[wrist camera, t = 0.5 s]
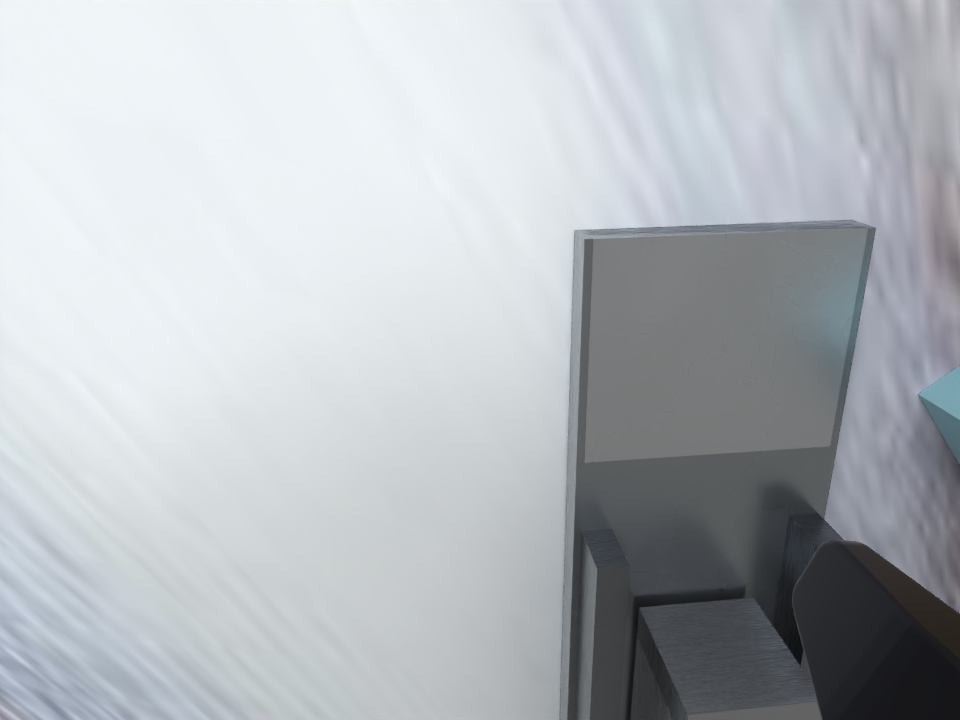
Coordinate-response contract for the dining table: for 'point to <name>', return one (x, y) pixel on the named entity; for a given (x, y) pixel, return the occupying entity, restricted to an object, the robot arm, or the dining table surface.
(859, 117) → the dining table surface
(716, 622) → the ram
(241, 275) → the dining table surface
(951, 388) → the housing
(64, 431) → the dining table surface
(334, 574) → the dining table surface
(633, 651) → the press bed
